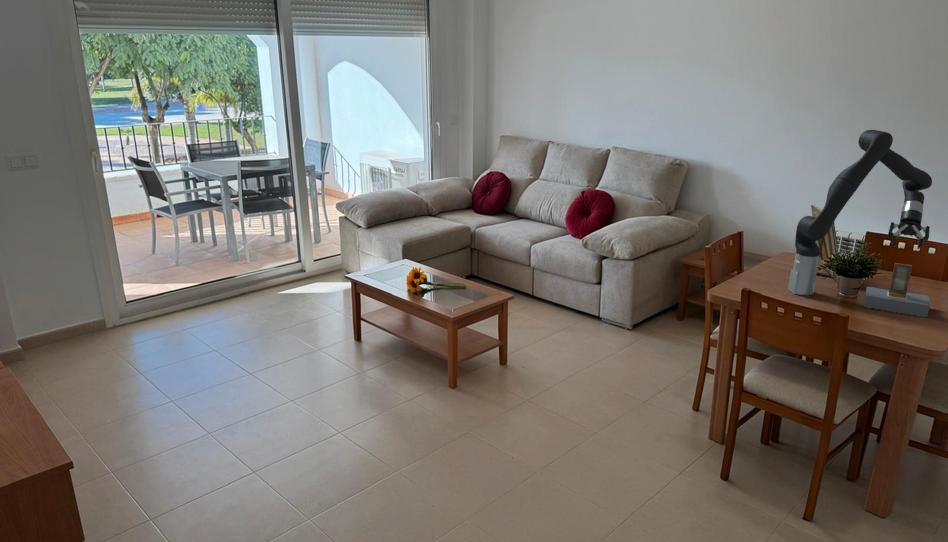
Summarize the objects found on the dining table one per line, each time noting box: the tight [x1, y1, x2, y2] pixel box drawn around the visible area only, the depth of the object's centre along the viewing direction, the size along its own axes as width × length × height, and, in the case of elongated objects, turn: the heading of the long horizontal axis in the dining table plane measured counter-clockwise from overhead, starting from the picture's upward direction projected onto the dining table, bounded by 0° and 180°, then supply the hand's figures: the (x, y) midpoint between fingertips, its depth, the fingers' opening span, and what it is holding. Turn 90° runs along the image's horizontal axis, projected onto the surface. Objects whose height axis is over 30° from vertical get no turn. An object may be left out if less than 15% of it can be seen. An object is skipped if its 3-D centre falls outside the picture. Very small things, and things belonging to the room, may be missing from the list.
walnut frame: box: [888, 262, 913, 298], centre depth 274 cm, size 6×6×13 cm
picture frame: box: [810, 204, 839, 282], centre depth 317 cm, size 33×10×30 cm, turn 168°
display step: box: [863, 286, 931, 318], centre depth 277 cm, size 22×14×5 cm, turn 59°
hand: (906, 246), depth 278 cm, fingers open, 8 cm apart
